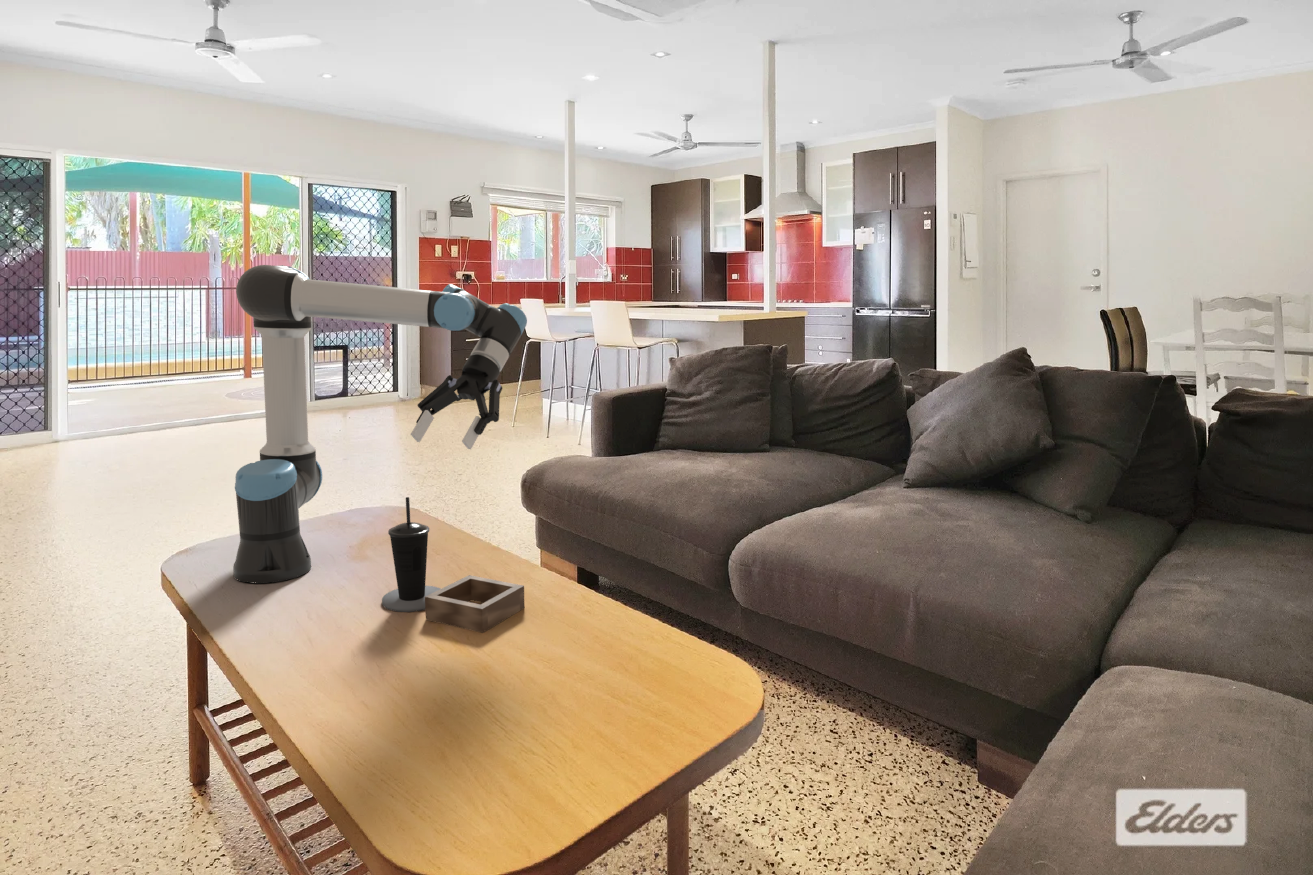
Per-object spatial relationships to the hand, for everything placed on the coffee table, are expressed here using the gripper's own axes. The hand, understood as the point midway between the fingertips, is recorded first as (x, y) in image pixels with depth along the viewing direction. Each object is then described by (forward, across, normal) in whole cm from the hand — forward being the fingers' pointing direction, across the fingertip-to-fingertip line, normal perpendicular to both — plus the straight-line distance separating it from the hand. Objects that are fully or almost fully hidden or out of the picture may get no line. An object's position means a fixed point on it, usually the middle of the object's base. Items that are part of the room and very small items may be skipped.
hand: (440, 441), depth 171 cm
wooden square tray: (+30, -20, -11) cm, 37 cm away
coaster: (+30, -4, -11) cm, 32 cm away
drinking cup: (+30, -4, -10) cm, 32 cm away
